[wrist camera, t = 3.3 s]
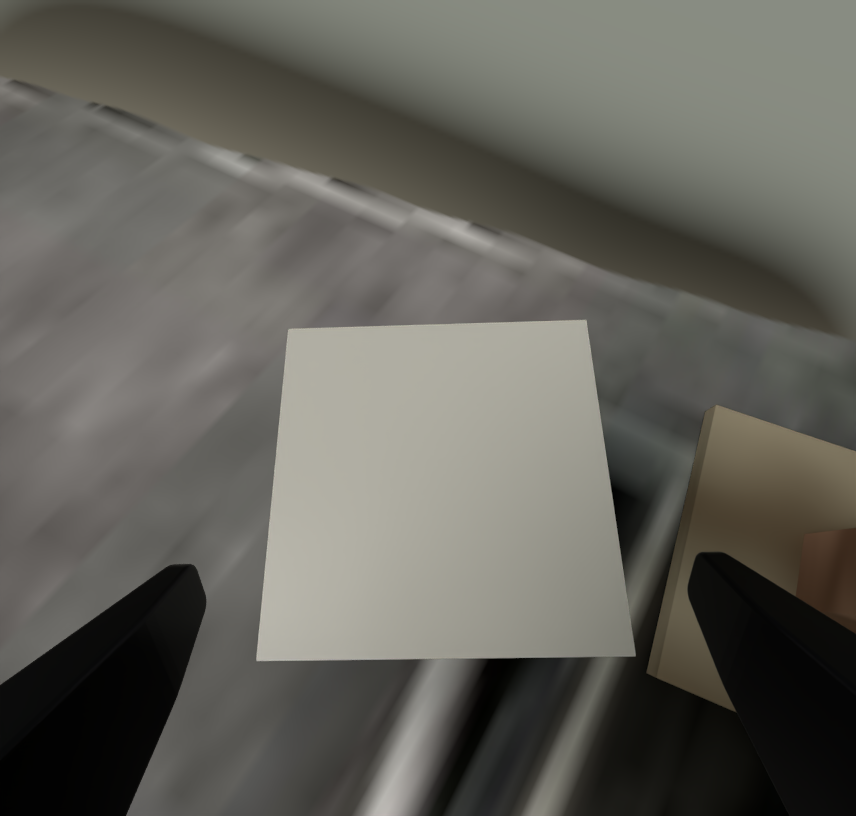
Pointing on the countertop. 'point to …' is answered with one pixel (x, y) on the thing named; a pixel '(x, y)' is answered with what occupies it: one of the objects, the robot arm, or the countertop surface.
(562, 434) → the tall pale rectangular prism
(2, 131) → the countertop surface
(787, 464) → the beige board with block
